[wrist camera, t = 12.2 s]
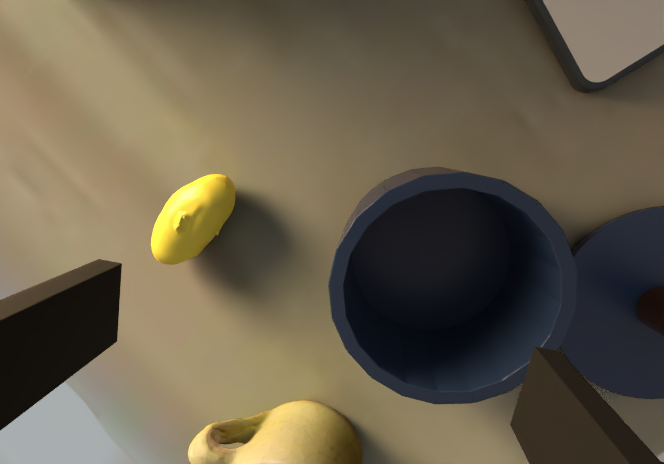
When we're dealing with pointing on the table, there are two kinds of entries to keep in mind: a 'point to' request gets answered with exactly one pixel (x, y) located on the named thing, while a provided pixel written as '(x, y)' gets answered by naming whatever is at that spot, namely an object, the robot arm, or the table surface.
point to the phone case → (600, 37)
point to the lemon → (192, 218)
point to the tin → (451, 285)
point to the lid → (621, 306)
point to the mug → (280, 438)
